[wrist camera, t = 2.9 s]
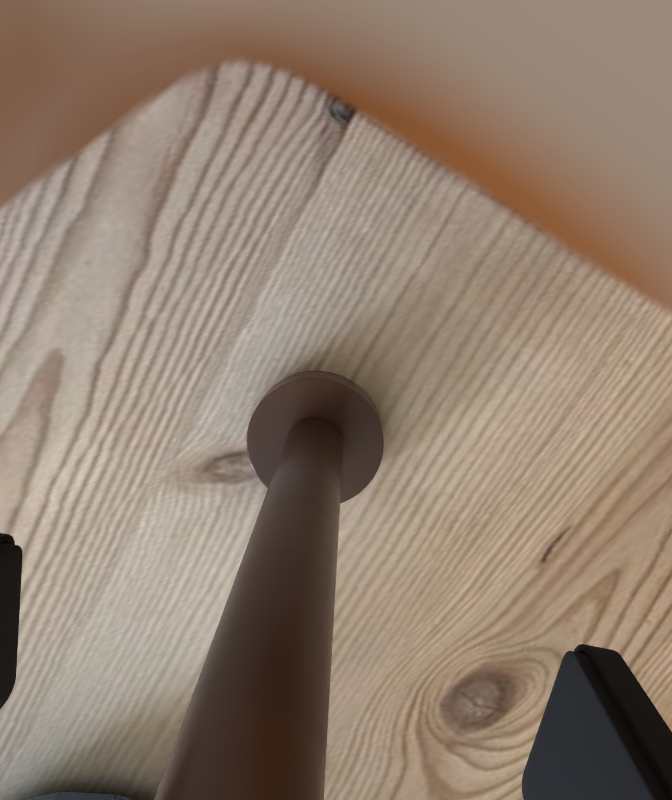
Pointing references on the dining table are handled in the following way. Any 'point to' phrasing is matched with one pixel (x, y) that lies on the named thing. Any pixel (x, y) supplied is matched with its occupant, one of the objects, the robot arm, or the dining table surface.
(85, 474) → the dining table surface
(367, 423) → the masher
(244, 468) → the dining table surface
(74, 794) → the bowl
